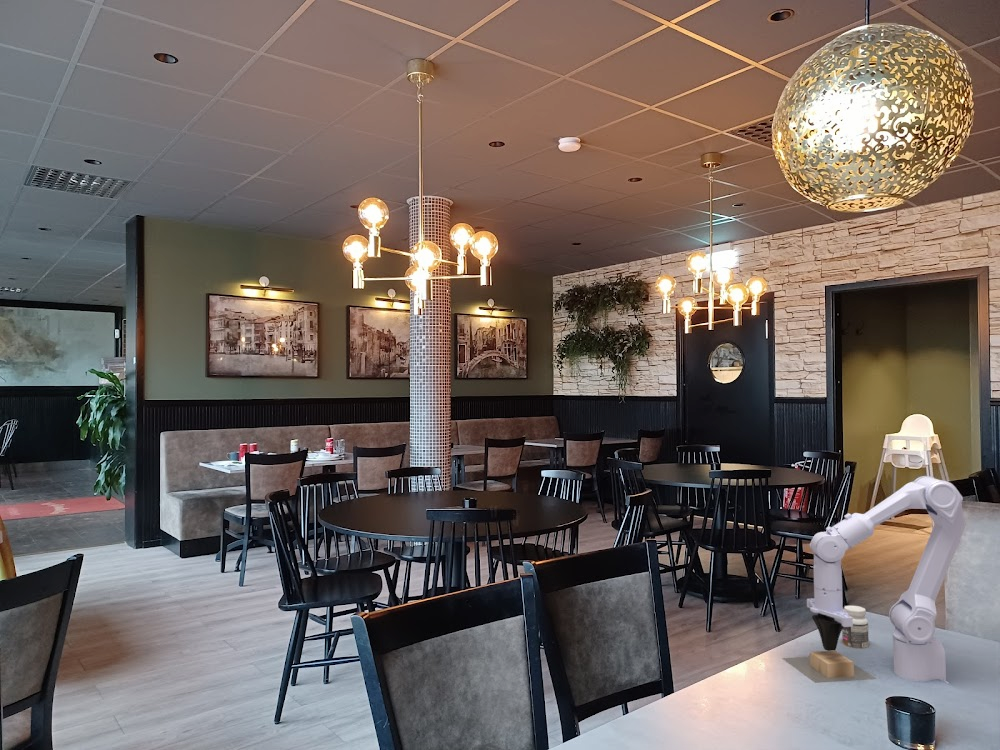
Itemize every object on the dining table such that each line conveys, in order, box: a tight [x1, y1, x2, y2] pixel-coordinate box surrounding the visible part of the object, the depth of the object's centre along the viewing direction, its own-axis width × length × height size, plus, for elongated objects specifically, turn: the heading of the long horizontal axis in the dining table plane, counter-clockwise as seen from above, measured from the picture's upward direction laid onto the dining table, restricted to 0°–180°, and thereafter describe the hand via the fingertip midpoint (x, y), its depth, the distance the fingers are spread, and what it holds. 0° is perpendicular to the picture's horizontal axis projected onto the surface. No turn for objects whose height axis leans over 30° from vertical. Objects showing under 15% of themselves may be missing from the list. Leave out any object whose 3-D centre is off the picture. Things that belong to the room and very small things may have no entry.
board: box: [781, 656, 878, 684], centre depth 159 cm, size 14×14×1 cm
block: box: [809, 650, 855, 678], centre depth 157 cm, size 6×3×7 cm
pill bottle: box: [841, 605, 870, 649], centre depth 174 cm, size 6×6×10 cm
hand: (829, 649), depth 158 cm, fingers closed
